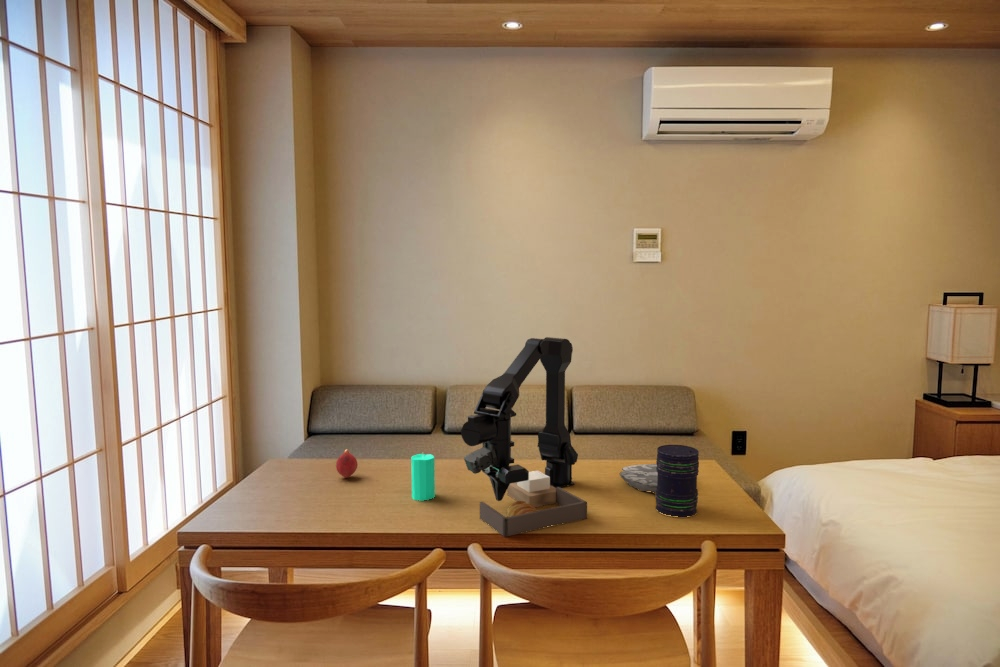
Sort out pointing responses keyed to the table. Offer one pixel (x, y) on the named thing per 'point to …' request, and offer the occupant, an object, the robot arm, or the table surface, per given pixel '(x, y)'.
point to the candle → (423, 477)
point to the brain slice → (641, 476)
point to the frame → (537, 515)
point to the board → (532, 495)
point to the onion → (346, 464)
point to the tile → (535, 482)
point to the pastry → (519, 508)
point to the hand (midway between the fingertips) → (499, 500)
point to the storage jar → (677, 480)
